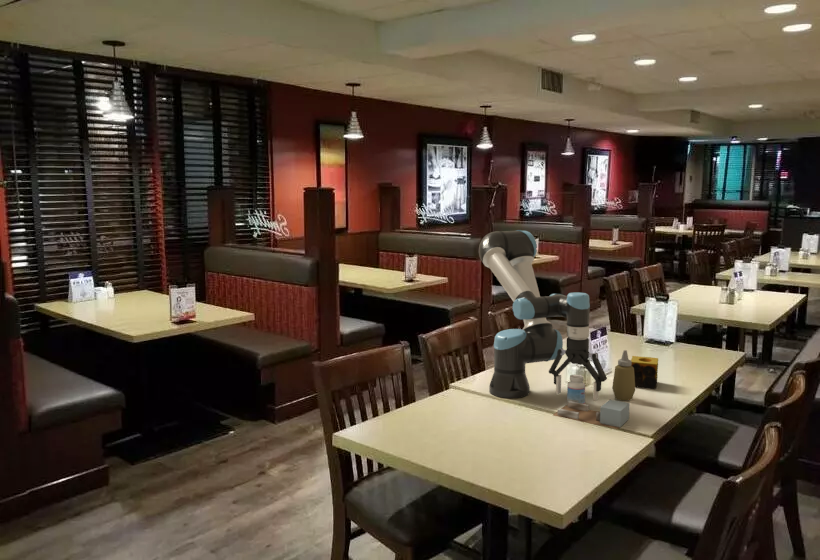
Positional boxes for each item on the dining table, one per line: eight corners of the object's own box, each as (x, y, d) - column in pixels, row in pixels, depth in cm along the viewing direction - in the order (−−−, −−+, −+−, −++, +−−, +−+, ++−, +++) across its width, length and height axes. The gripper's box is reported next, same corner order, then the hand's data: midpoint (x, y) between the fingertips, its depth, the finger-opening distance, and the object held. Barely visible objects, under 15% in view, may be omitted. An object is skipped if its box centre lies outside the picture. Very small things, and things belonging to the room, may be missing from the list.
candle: (628, 386, 251) (629, 361, 249) (630, 379, 260) (631, 355, 259) (656, 389, 247) (657, 364, 246) (657, 382, 256) (658, 357, 255)
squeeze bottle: (636, 396, 239) (638, 349, 237) (633, 403, 232) (635, 354, 229) (613, 393, 243) (615, 347, 240) (610, 400, 235) (612, 352, 233)
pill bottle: (585, 410, 226) (586, 379, 224) (567, 409, 227) (568, 378, 225) (584, 404, 232) (585, 374, 230) (566, 403, 233) (567, 373, 231)
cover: (599, 423, 209) (600, 407, 209) (609, 414, 217) (609, 399, 216) (620, 427, 206) (620, 411, 205) (628, 418, 213) (629, 402, 212)
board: (552, 419, 218) (552, 407, 217) (565, 409, 227) (566, 398, 227) (617, 433, 205) (618, 421, 204) (629, 421, 215) (629, 410, 214)
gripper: (539, 335, 230) (539, 393, 232) (609, 343, 215) (608, 405, 218) (548, 331, 236) (548, 388, 239) (617, 339, 221) (615, 399, 224)
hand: (576, 396), depth 228 cm, fingers open, 13 cm apart
